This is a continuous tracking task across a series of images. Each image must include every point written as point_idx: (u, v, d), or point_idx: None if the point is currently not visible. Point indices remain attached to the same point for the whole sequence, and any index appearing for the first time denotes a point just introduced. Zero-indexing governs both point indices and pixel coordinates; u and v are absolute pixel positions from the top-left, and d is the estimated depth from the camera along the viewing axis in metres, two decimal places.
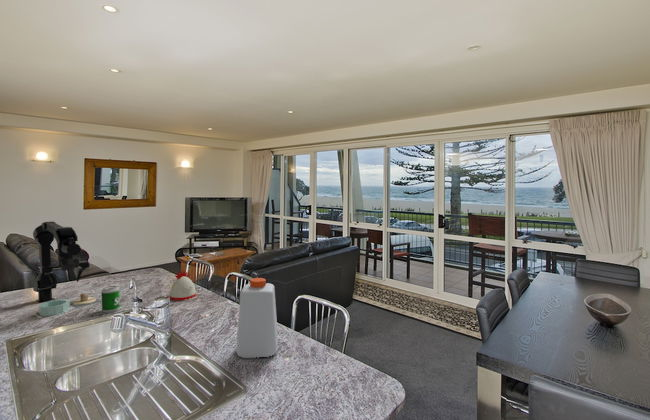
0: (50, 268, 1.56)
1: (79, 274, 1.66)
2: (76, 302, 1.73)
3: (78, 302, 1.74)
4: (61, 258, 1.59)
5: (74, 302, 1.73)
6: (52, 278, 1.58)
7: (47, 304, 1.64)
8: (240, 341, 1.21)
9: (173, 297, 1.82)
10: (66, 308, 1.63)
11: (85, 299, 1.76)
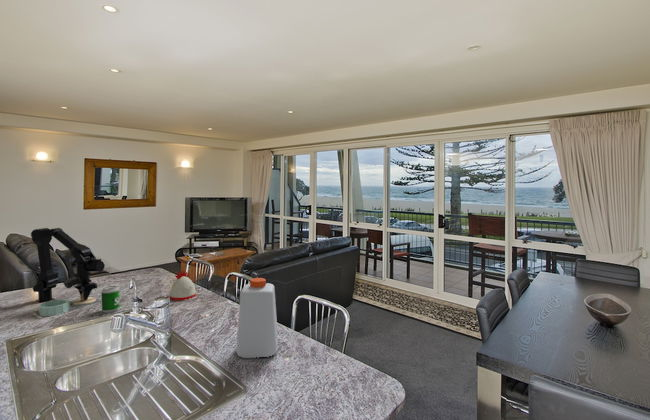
0: None
1: (83, 293, 1.74)
2: (76, 302, 1.73)
3: (78, 302, 1.74)
4: (74, 275, 1.74)
5: (74, 302, 1.73)
6: (79, 292, 1.77)
7: (47, 304, 1.64)
8: (240, 341, 1.21)
9: (173, 297, 1.82)
10: (66, 308, 1.63)
11: None
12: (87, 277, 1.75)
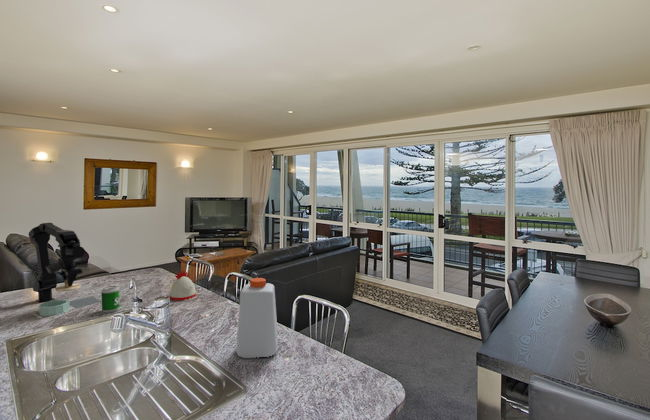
0: None
1: (67, 279, 1.66)
2: (60, 288, 1.65)
3: (62, 288, 1.65)
4: (58, 260, 1.66)
5: (58, 288, 1.65)
6: (63, 278, 1.69)
7: (47, 304, 1.64)
8: (240, 341, 1.21)
9: (173, 297, 1.82)
10: (66, 308, 1.63)
11: None
12: (71, 262, 1.67)
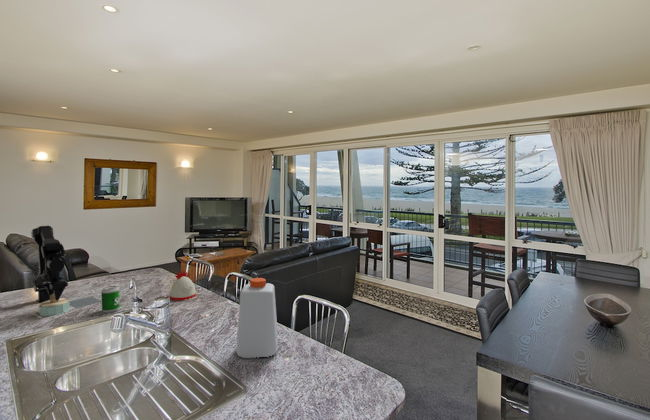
0: None
1: (54, 293, 1.58)
2: (45, 304, 1.59)
3: (47, 304, 1.59)
4: (43, 272, 1.60)
5: (43, 304, 1.59)
6: (47, 289, 1.64)
7: None
8: (240, 341, 1.21)
9: (173, 297, 1.82)
10: (66, 308, 1.63)
11: (55, 300, 1.62)
12: (57, 274, 1.61)
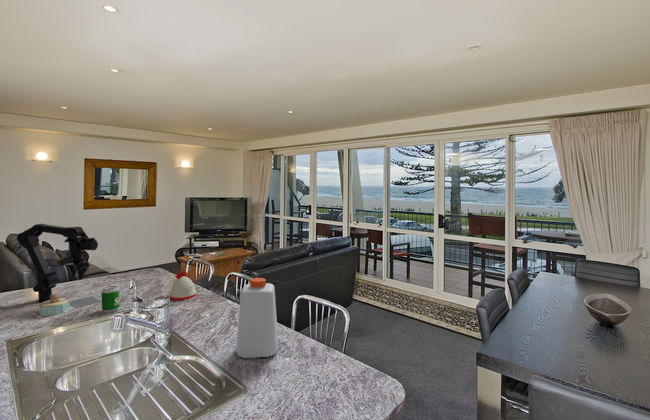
0: None
1: (77, 273, 1.74)
2: (45, 304, 1.59)
3: (47, 304, 1.59)
4: (67, 254, 1.76)
5: (43, 304, 1.59)
6: None
7: None
8: (240, 341, 1.21)
9: (173, 297, 1.82)
10: (66, 308, 1.63)
11: (55, 300, 1.62)
12: (79, 256, 1.77)
